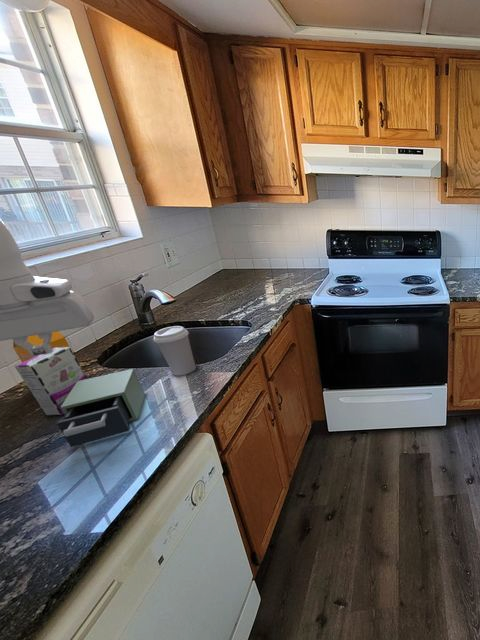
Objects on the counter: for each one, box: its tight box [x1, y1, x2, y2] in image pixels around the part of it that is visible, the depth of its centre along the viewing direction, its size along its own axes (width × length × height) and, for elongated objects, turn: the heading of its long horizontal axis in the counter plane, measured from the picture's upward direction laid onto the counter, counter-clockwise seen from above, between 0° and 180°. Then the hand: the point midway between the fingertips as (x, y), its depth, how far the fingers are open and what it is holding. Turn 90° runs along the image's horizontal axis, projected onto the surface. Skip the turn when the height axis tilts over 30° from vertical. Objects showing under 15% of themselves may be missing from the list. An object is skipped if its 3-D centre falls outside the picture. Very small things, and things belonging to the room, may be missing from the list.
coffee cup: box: [152, 325, 197, 376], centre depth 121 cm, size 10×10×15 cm
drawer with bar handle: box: [56, 395, 131, 448], centre depth 94 cm, size 18×11×7 cm, turn 31°
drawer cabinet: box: [60, 368, 146, 423], centre depth 101 cm, size 15×13×9 cm
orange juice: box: [12, 331, 76, 363], centre depth 116 cm, size 8×9×20 cm
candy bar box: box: [14, 346, 88, 416], centre depth 104 cm, size 11×5×16 cm, turn 0°
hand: (42, 353), depth 77 cm, fingers closed
